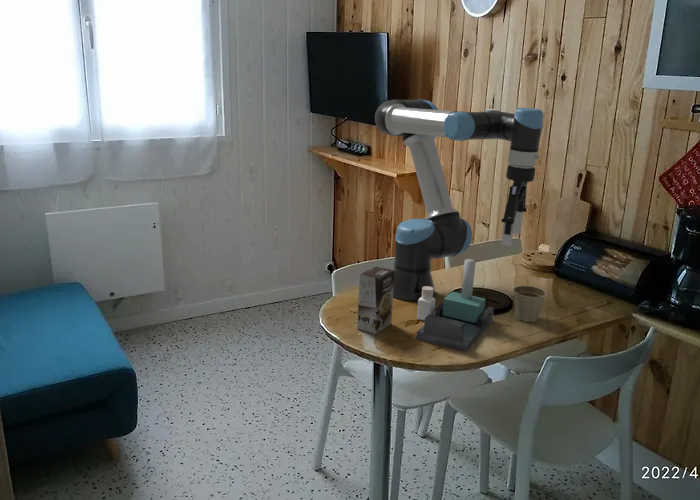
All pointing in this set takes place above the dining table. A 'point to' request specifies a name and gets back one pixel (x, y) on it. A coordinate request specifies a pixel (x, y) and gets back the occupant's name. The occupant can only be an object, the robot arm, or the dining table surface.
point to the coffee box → (375, 299)
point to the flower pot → (528, 302)
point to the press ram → (464, 298)
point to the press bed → (467, 335)
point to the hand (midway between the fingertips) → (510, 239)
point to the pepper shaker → (426, 303)
